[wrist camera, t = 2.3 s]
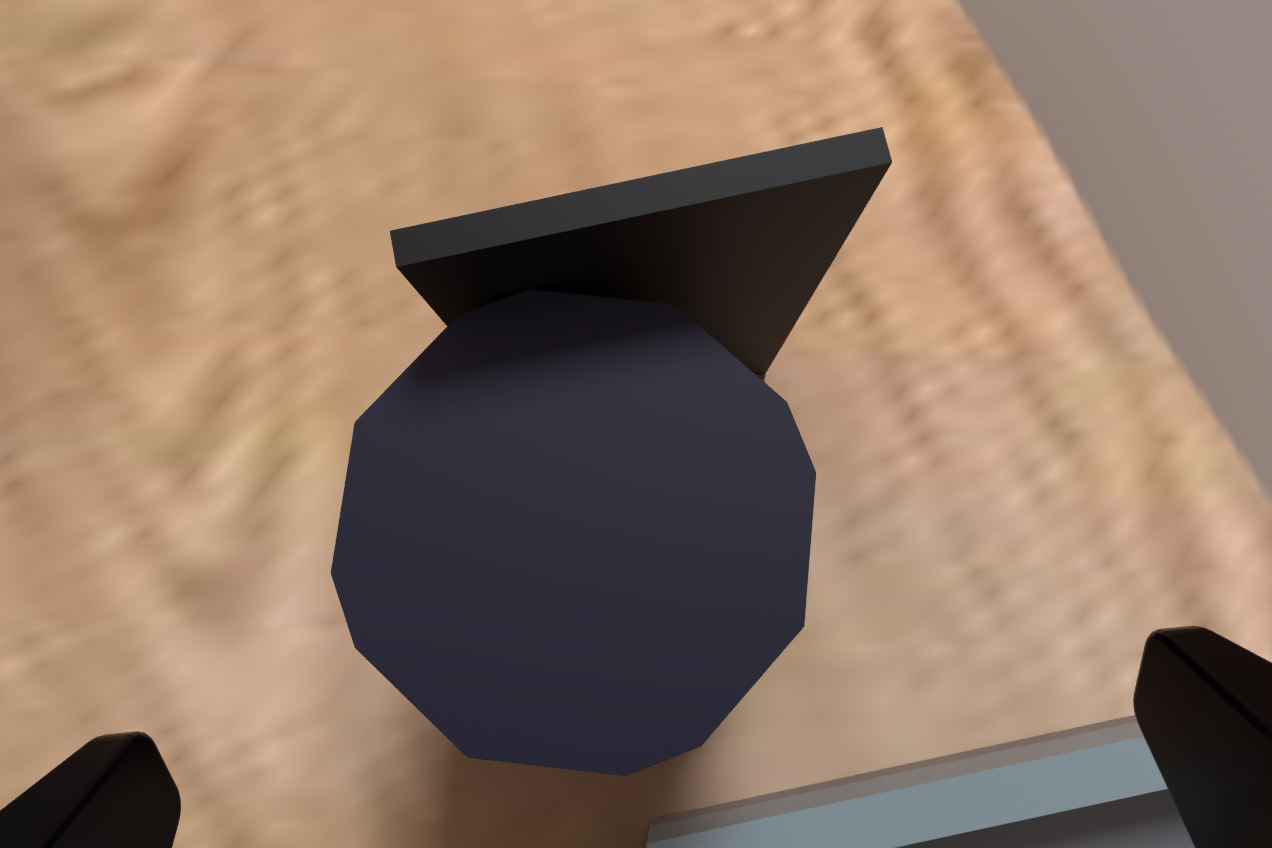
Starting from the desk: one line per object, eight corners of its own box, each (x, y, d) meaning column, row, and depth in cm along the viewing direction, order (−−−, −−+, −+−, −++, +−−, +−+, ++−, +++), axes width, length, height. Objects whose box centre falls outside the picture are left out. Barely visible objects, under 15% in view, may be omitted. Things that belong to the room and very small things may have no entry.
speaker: (512, 321, 20) (367, 26, 10) (768, 357, 20) (901, 92, 9) (448, 668, 18) (199, 756, 8) (724, 711, 18) (825, 857, 8)
